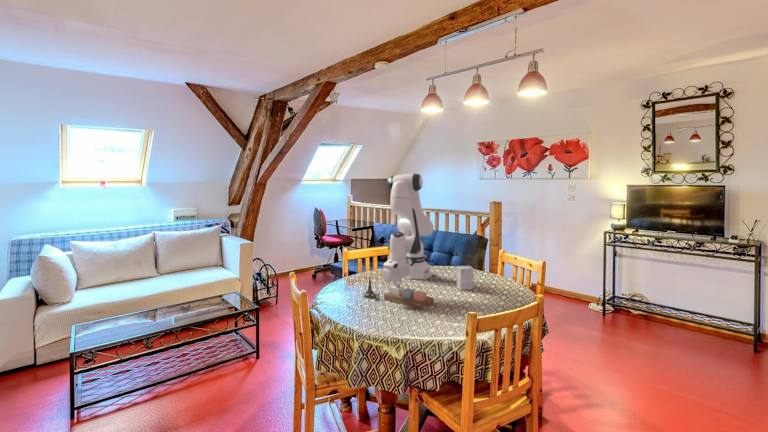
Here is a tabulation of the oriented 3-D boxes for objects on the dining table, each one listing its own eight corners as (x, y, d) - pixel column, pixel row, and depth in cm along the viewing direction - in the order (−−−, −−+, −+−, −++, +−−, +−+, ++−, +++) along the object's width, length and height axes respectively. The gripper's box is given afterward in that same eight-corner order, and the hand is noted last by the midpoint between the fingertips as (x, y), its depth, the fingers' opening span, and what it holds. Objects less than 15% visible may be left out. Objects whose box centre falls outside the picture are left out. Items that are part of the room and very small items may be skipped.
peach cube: (418, 299, 214) (418, 290, 213) (426, 302, 211) (426, 292, 210) (413, 302, 210) (413, 293, 210) (421, 304, 207) (421, 295, 206)
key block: (397, 294, 228) (397, 289, 227) (433, 303, 212) (433, 298, 212) (384, 299, 219) (384, 294, 218) (420, 309, 203) (420, 304, 203)
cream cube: (396, 293, 224) (396, 284, 223) (403, 295, 220) (404, 286, 220) (391, 295, 220) (391, 286, 219) (398, 297, 217) (398, 288, 216)
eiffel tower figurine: (380, 302, 216) (380, 278, 214) (361, 302, 215) (361, 278, 214) (379, 293, 231) (379, 270, 229) (361, 293, 230) (361, 271, 229)
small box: (469, 286, 243) (469, 265, 241) (473, 289, 237) (473, 268, 235) (456, 286, 242) (456, 265, 240) (460, 290, 236) (460, 268, 234)
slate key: (407, 296, 219) (407, 288, 218) (415, 298, 216) (415, 289, 215) (402, 299, 215) (402, 290, 214) (409, 301, 212) (409, 292, 211)
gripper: (404, 258, 228) (404, 281, 229) (381, 264, 212) (381, 289, 214) (413, 259, 223) (413, 283, 225) (390, 266, 208) (390, 292, 210)
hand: (397, 286), depth 219 cm, fingers closed
